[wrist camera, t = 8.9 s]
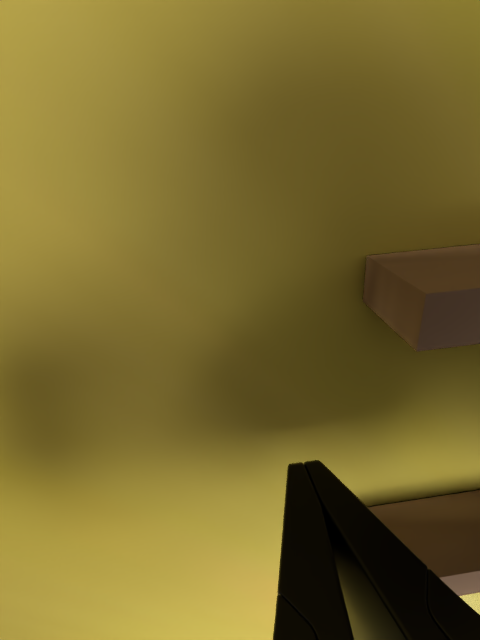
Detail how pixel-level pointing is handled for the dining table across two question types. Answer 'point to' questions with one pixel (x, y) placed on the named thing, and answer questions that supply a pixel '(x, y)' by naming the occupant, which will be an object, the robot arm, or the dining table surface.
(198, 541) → the dining table surface
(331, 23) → the dining table surface
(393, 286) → the dock
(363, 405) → the dining table surface
